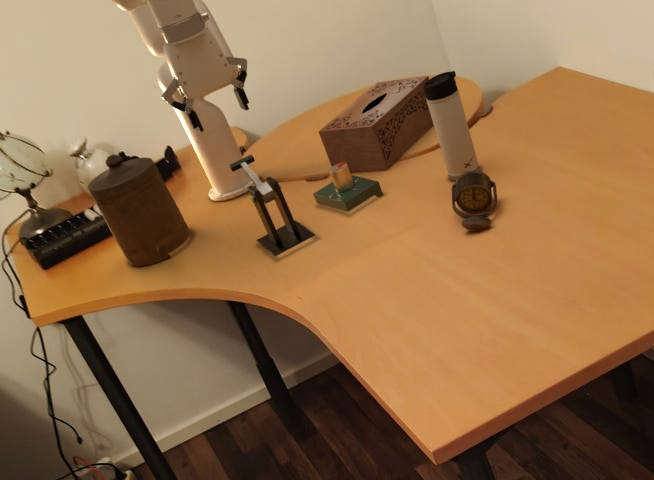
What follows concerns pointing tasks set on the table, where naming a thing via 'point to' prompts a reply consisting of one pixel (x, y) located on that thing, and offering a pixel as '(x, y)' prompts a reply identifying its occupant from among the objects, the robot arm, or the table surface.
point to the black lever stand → (292, 230)
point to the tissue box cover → (378, 125)
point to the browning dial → (341, 177)
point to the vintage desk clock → (474, 198)
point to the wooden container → (139, 210)
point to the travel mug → (450, 124)
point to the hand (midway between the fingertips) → (223, 119)
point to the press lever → (254, 178)
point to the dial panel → (348, 194)
